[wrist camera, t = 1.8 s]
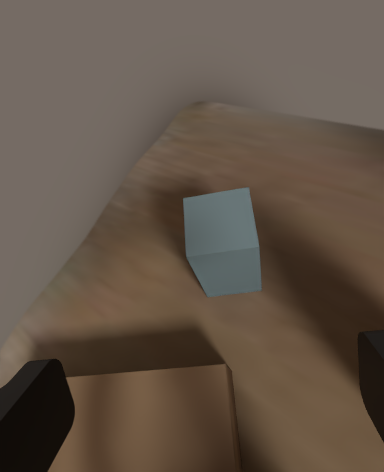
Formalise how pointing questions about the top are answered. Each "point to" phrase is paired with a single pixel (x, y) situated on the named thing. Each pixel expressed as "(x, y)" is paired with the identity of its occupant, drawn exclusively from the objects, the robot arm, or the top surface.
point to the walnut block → (153, 422)
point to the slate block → (223, 242)
